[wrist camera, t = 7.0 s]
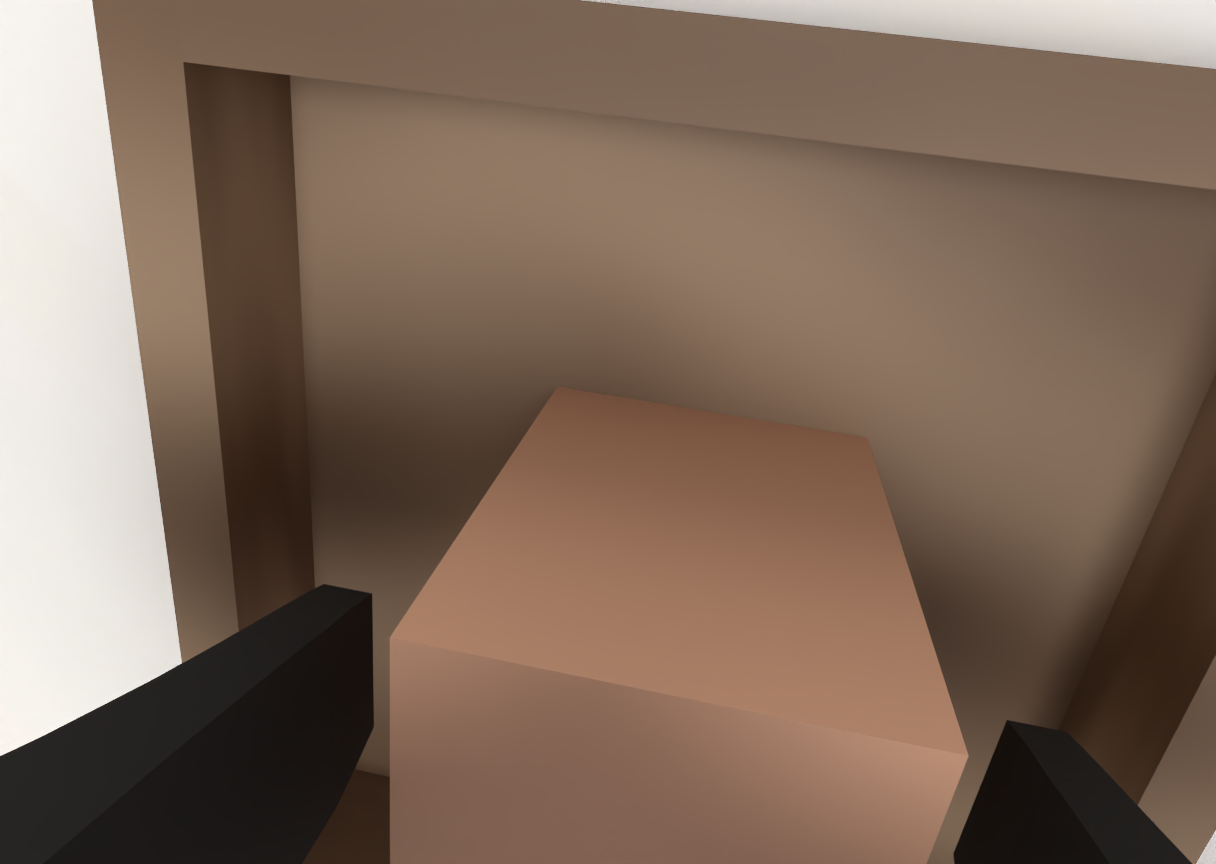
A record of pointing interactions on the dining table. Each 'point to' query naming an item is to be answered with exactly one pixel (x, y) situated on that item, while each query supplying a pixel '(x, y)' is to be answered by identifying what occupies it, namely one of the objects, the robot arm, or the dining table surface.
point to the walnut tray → (689, 320)
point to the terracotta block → (671, 656)
